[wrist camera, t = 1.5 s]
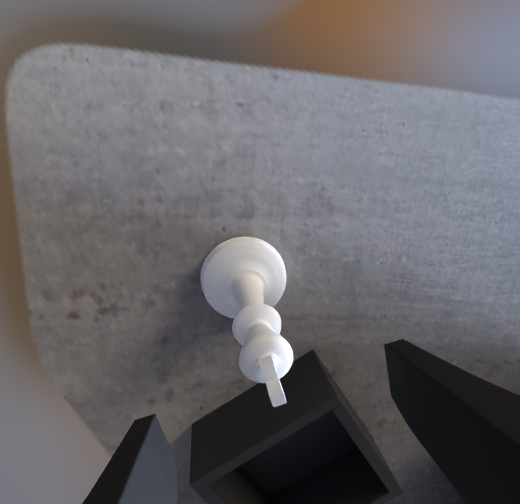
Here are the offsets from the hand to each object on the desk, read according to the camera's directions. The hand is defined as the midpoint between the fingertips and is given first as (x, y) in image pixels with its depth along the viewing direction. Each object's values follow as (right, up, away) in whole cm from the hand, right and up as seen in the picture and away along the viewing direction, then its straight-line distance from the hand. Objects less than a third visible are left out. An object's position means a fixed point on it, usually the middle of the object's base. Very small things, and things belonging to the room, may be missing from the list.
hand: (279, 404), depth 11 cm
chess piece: (-2, +3, +10) cm, 10 cm away
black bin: (+1, -8, +14) cm, 16 cm away
